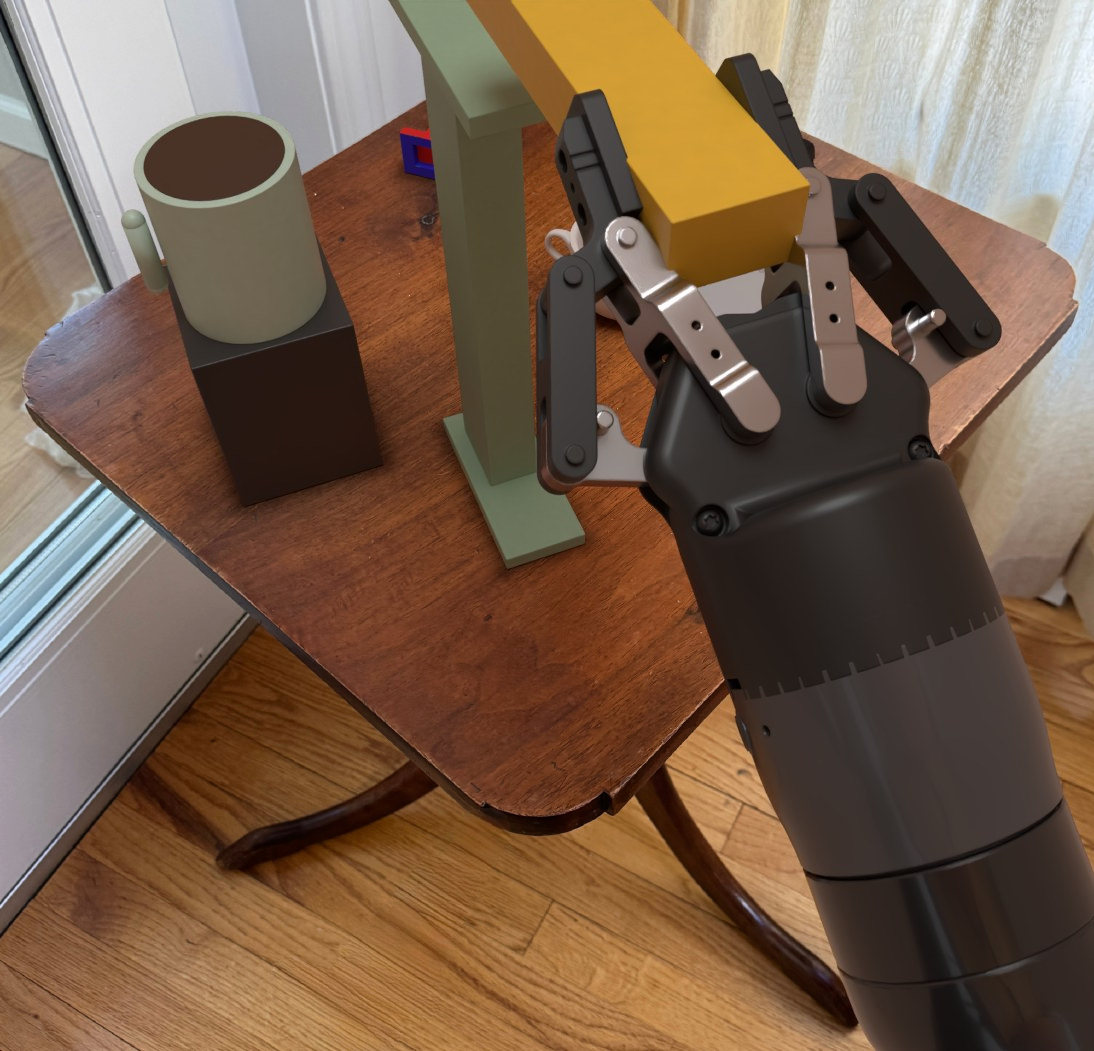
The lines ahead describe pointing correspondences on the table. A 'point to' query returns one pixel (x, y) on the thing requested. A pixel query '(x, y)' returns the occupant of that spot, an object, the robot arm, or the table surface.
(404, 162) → the toy building block
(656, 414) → the robot arm
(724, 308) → the grey smart device
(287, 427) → the hollow cylinder with base
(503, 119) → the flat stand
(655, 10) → the rectangular block
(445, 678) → the table surface
